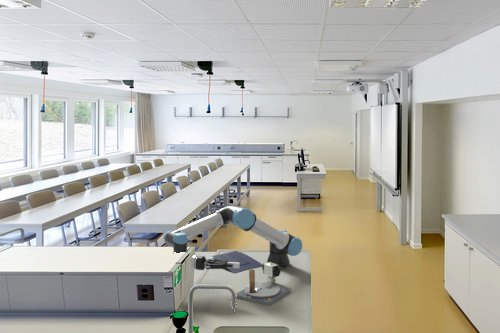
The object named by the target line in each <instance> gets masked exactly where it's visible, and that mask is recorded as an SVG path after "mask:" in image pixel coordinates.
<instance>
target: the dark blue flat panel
mask: <svg viewBox="0 0 500 333" xmlns="http://www.w3.org/2000/svg"><path fill="white" fill-rule="evenodd" d="M211 257H212V258H215V259H221V260H228V262H237V263H240V268H227V269H226V270H229V271H230V272H232V273H233V274H235V273H239V272H242V271H243V272H244V271H247V270H251V269H254V268H259V267H260V268H261V267H262V266H263V264H262V262H260V261H258V260H257V259H254V258H253V257H251V256H249V255H248V254H245V253H244V252H241V251H237V250H235V251H234V250H233V251H230V252H225V253H221V254H216V255H215V254H214V255H211Z"/></svg>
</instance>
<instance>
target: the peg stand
mask: <svg viewBox="0 0 500 333" xmlns="http://www.w3.org/2000/svg"><path fill="white" fill-rule="evenodd" d="M255 275H256V269H254V268H251V269H248V277H249V284H247V285H246V286H245V287H244V289H245V294H246V295H248V296H250V297H253V298H271V297H274V296H277V295H278V294H279V293H280V287H281V286H280V285H277V284H276V283H269V282H267V281H257V282H256V276H255ZM255 282H256V283H255Z"/></svg>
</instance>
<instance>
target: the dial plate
mask: <svg viewBox="0 0 500 333" xmlns="http://www.w3.org/2000/svg"><path fill="white" fill-rule="evenodd" d="M255 283H256V281H255ZM279 287H280V293H279V294H278V295H277V296H274V297H271V298H253V297H250V296H248V295H246V294H245V288H243V289H241V290H240V291H238V292H236V293H235V294H237V299H239V300H240V299H242V300H244V301H249V302H253V303H258V304H262V305H266V306H271V305H272V304H274V303H275V302H277V301H279V300H280V299H281V298H283V297H284V296H286V295H287V294H289V293H291V292H290V291H291V290H290V288H286V287H281V286H279Z"/></svg>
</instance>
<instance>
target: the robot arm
mask: <svg viewBox="0 0 500 333" xmlns="http://www.w3.org/2000/svg"><path fill="white" fill-rule="evenodd" d="M224 225H232V226H235V227H237V228H239V229H241V230H242V231H245V232H252V233H254V234H255V235H257V236H259V237H261V238H263V239H265V241H268V243H269V254H268V257H267V261H266V263H267V262H271V263H273V264H274V263H275V264H276V265H279V268H280V269H283V268H288V267H289V266H290V265H291V261H290V258H289V256H292V257H295V256H297V255H299V254H300V253H301V251H302V249H303V241H302V239H300V238H299V237H296V236H295V235H292V234H291V233H289V232H288V230H286V229H277V228H275V227H273V226H271V225H270V224H268V223H267V222H265V221H264V220H261V219H260V218H257V215H256V214H255V213H254V212H253V211H252V210H251V209H249V208H246V207H243V206H239V205H236V204H231V205H227V206H225V207H222V208H219V209H217V210H215V212H214V213H213V214H210V215H208V216H205V217H203V218H201V219H199V220H196V221H195V222H191V223H189V224H187V225H185V226H183V227H181V228H178V229H175V230H174V231H172V230H168V231H166V232H165V233H164V234H163V241H164V242H165V244H166V245H168V246H170V247H171V248H173V253H174V252H176V253H180V252H186V251H187V252H188V240H189V239H191V238H194V237H196V236H198V235H200V234H203V233H205V232H207V231H208V230H209V231H210V230H211V229H213V228H215V227H219V226H222V227H223V226H224ZM191 268H192V269H193V270H192V269H191V270H192V271H195V270H196V271H204V270H228V269H227V268H240V263H237V262H228V260H221V259H215V258H214V257H212V259H211V258H208V259H207V258H206V256H205V255H194V254H193V256H192V258H191Z"/></svg>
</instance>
